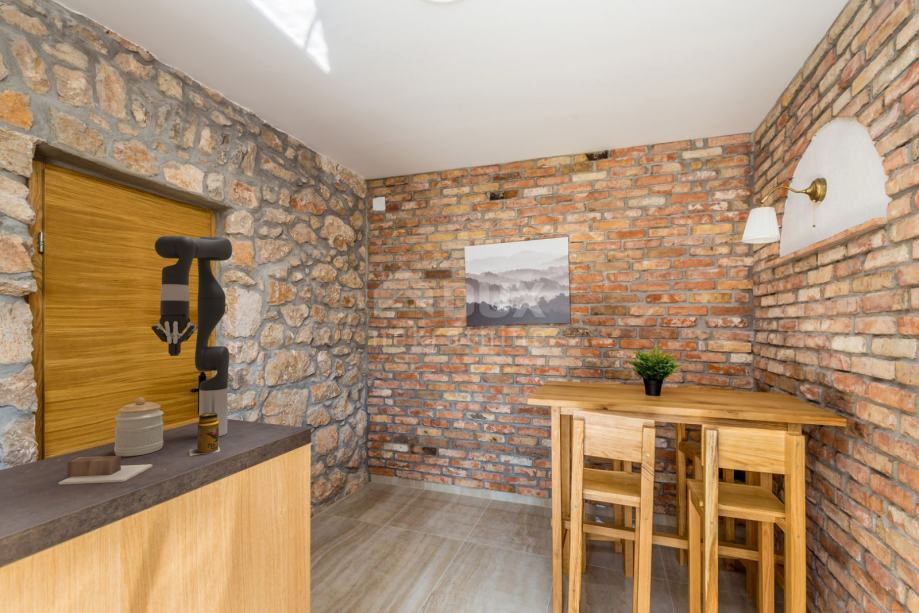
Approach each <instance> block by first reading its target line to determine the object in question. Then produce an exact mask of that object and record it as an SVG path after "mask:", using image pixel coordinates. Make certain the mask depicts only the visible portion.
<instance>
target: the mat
mask: <svg viewBox="0 0 919 613" xmlns="http://www.w3.org/2000/svg"><path fill="white" fill-rule="evenodd" d="M150 468H153V464H133V465H131V464H130V465H121V470H120V471H118V472H116V473H114V474H111V475H99V476H73V477H67V478H65V479H62V480H60V481H58V485H79V484H80V485H81V484H102V483H103V484H104V483H123V482H126V481H128V480H130V479H132V478H133V477H135V476H137V475H140V474H141V473H143V472H145V471H147V470H149V469H150Z"/></svg>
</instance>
